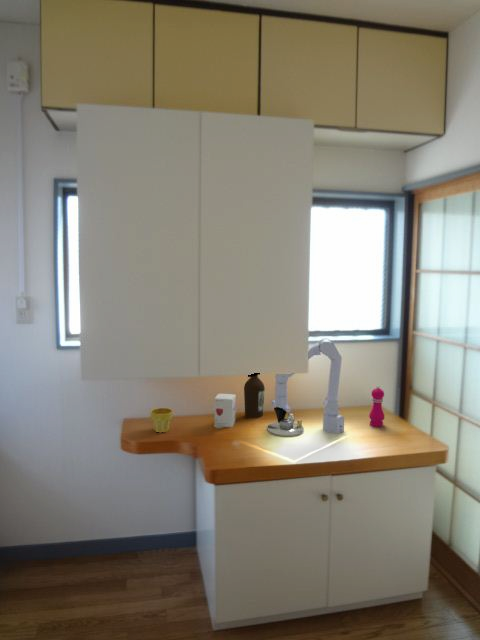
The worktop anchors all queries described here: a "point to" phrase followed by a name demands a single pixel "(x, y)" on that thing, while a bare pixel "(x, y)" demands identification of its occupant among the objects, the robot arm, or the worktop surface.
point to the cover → (286, 424)
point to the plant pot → (161, 419)
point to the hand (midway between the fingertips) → (280, 422)
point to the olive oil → (254, 397)
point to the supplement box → (224, 410)
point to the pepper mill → (377, 408)
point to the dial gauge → (290, 416)
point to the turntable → (276, 430)
